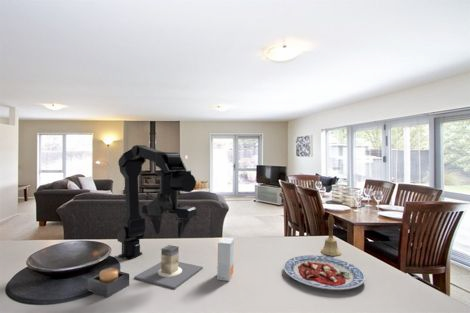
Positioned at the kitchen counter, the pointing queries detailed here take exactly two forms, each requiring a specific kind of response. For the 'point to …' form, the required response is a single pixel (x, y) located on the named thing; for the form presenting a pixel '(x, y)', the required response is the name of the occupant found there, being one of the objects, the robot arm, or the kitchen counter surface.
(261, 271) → the kitchen counter surface
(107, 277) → the button
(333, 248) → the hand bell
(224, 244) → the skincare box
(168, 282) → the mat
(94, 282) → the button box
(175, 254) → the spice jar
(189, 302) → the kitchen counter surface
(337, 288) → the ceramic plate
